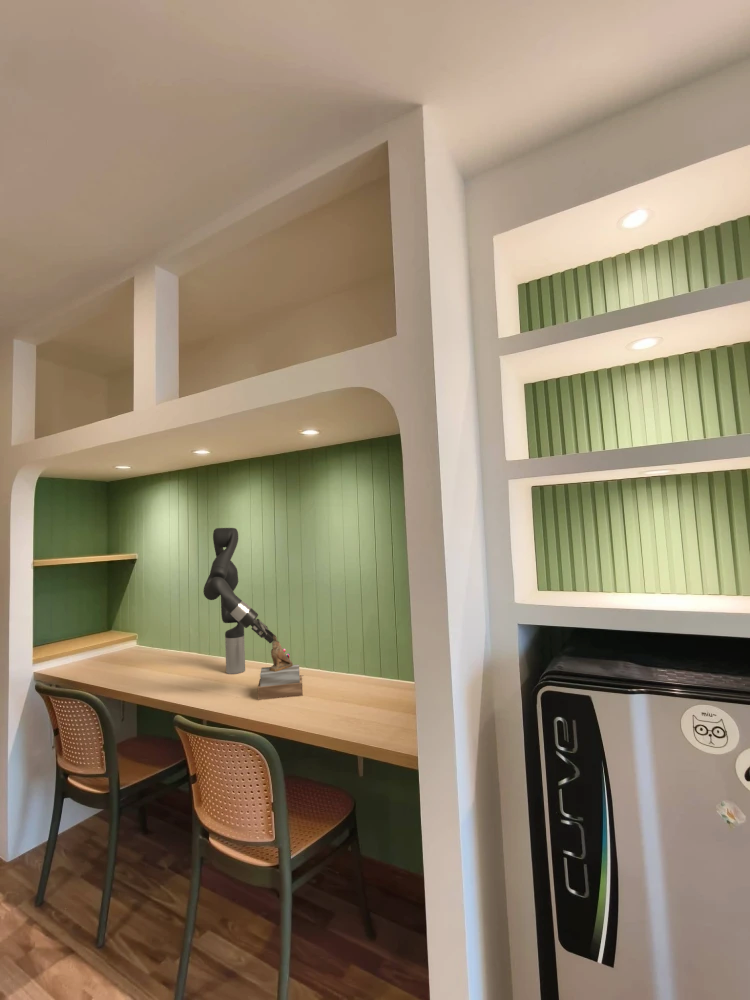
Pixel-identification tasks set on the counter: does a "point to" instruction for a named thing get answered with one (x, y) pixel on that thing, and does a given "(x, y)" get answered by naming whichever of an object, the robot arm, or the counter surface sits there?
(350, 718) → the counter surface
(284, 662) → the brown carved statuette
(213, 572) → the robot arm
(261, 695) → the grey and brown block
